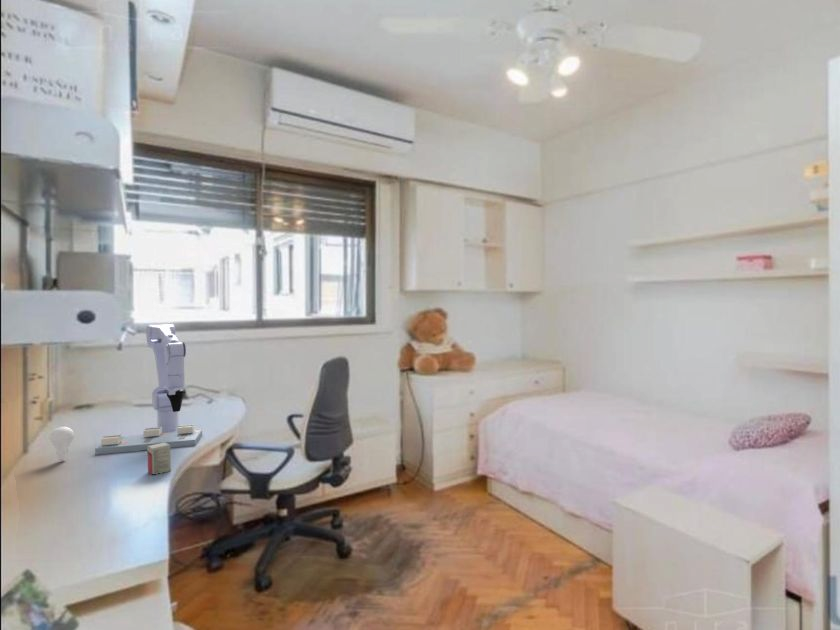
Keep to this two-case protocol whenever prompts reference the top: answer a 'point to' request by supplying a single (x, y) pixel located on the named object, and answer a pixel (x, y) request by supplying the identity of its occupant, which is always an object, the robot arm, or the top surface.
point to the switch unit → (150, 442)
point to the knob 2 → (152, 431)
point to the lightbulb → (62, 441)
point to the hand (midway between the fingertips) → (176, 411)
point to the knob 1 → (111, 440)
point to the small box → (159, 458)
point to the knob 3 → (185, 429)
